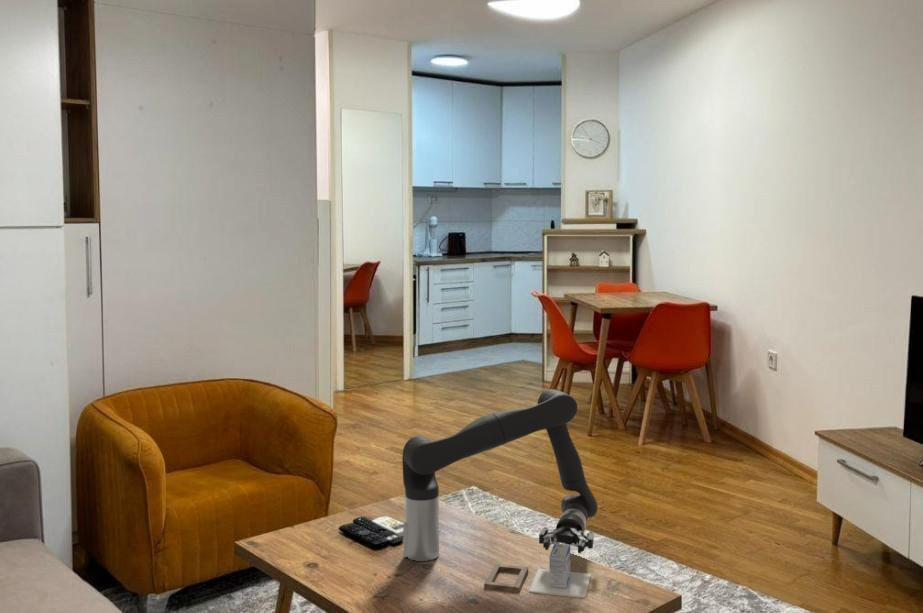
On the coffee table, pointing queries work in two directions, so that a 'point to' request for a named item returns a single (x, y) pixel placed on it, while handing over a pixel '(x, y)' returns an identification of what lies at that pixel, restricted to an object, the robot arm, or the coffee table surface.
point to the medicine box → (559, 566)
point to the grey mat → (574, 588)
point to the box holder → (503, 586)
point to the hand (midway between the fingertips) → (562, 548)
